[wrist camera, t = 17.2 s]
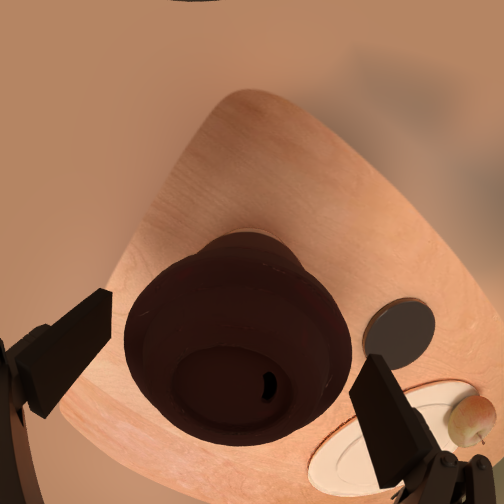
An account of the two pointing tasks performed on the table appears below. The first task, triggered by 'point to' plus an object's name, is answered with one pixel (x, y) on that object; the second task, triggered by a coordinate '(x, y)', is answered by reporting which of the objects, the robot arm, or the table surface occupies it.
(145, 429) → the table surface
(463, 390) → the plate
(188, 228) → the table surface
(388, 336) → the slate coaster
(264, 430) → the coffee cup
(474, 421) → the fruit
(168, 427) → the table surface
